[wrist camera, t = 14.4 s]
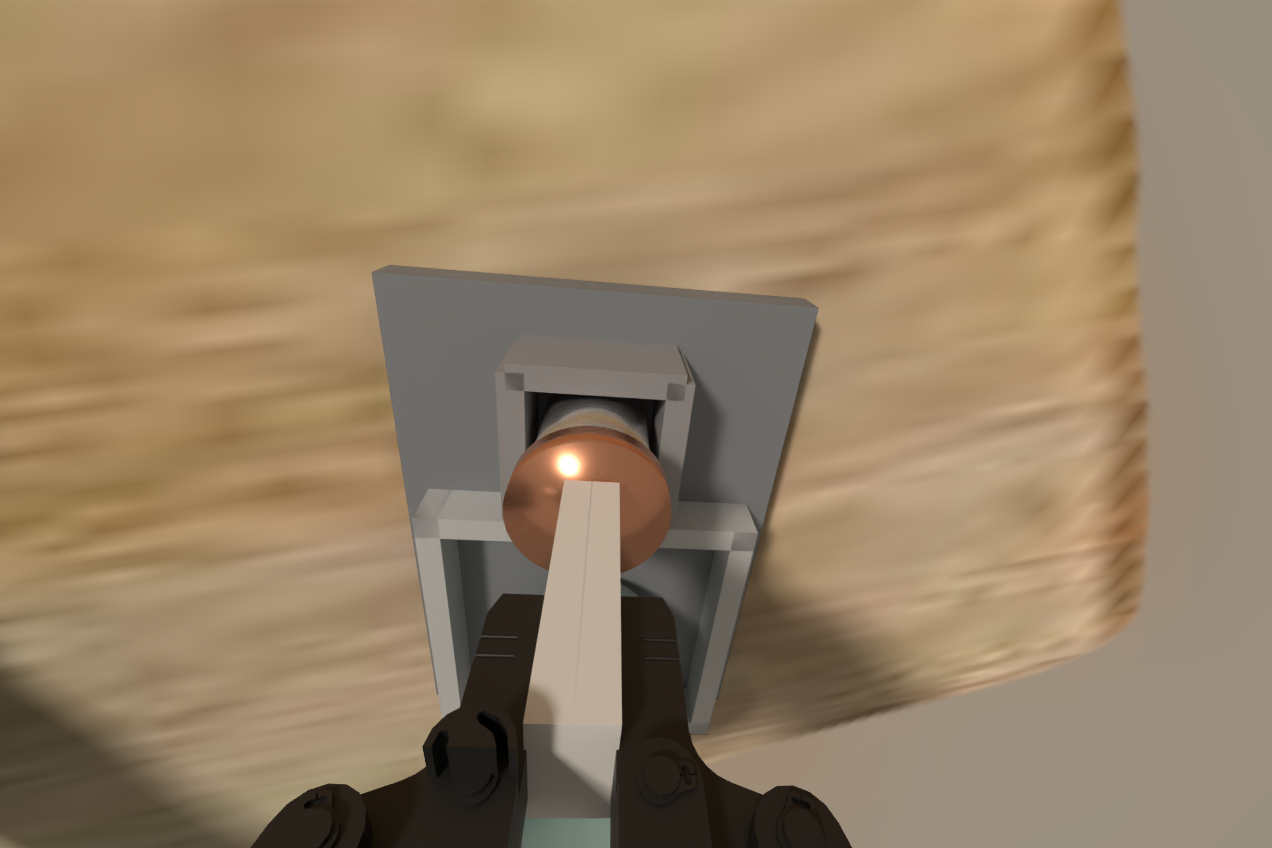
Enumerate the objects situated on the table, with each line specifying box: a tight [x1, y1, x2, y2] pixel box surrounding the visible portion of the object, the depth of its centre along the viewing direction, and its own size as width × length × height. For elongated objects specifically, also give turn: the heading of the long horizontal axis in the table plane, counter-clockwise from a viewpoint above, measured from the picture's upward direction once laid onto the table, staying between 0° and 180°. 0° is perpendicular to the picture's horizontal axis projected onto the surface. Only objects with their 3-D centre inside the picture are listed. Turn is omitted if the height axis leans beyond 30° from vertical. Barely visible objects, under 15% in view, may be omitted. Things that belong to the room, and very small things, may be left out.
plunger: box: [502, 393, 672, 574], centre depth 17 cm, size 5×5×6 cm
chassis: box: [372, 265, 819, 735], centre depth 22 cm, size 16×23×5 cm
